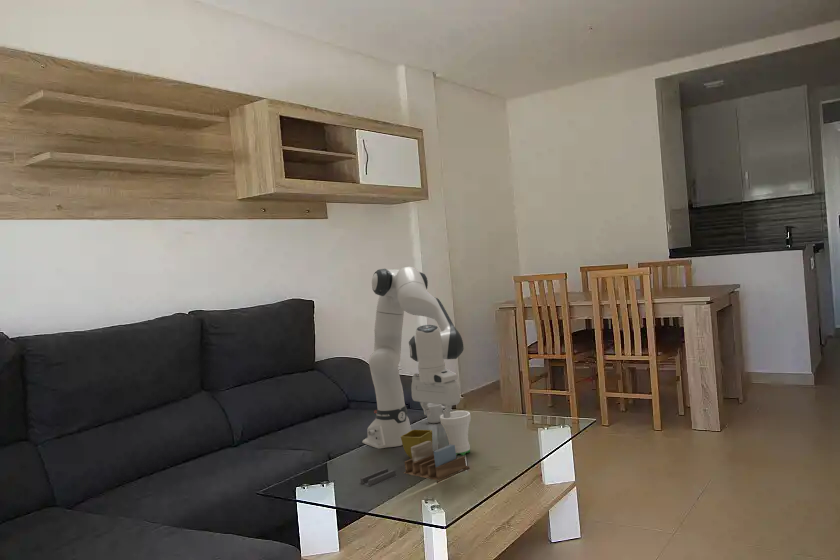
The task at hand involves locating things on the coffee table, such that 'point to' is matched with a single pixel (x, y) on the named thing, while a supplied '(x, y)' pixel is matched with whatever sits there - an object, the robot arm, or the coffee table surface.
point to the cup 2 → (457, 430)
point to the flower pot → (415, 439)
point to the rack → (432, 464)
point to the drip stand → (378, 477)
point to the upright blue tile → (444, 455)
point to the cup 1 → (435, 412)
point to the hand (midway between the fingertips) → (437, 416)
